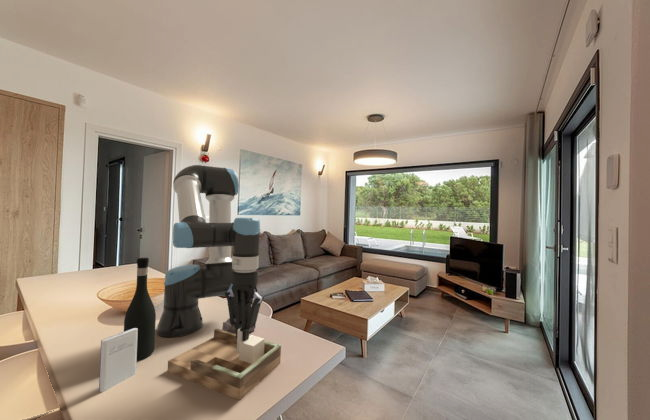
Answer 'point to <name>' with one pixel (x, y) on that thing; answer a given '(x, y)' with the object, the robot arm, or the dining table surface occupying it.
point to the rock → (232, 327)
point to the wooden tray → (224, 365)
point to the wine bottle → (142, 313)
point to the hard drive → (118, 358)
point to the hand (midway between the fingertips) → (241, 350)
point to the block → (251, 349)
